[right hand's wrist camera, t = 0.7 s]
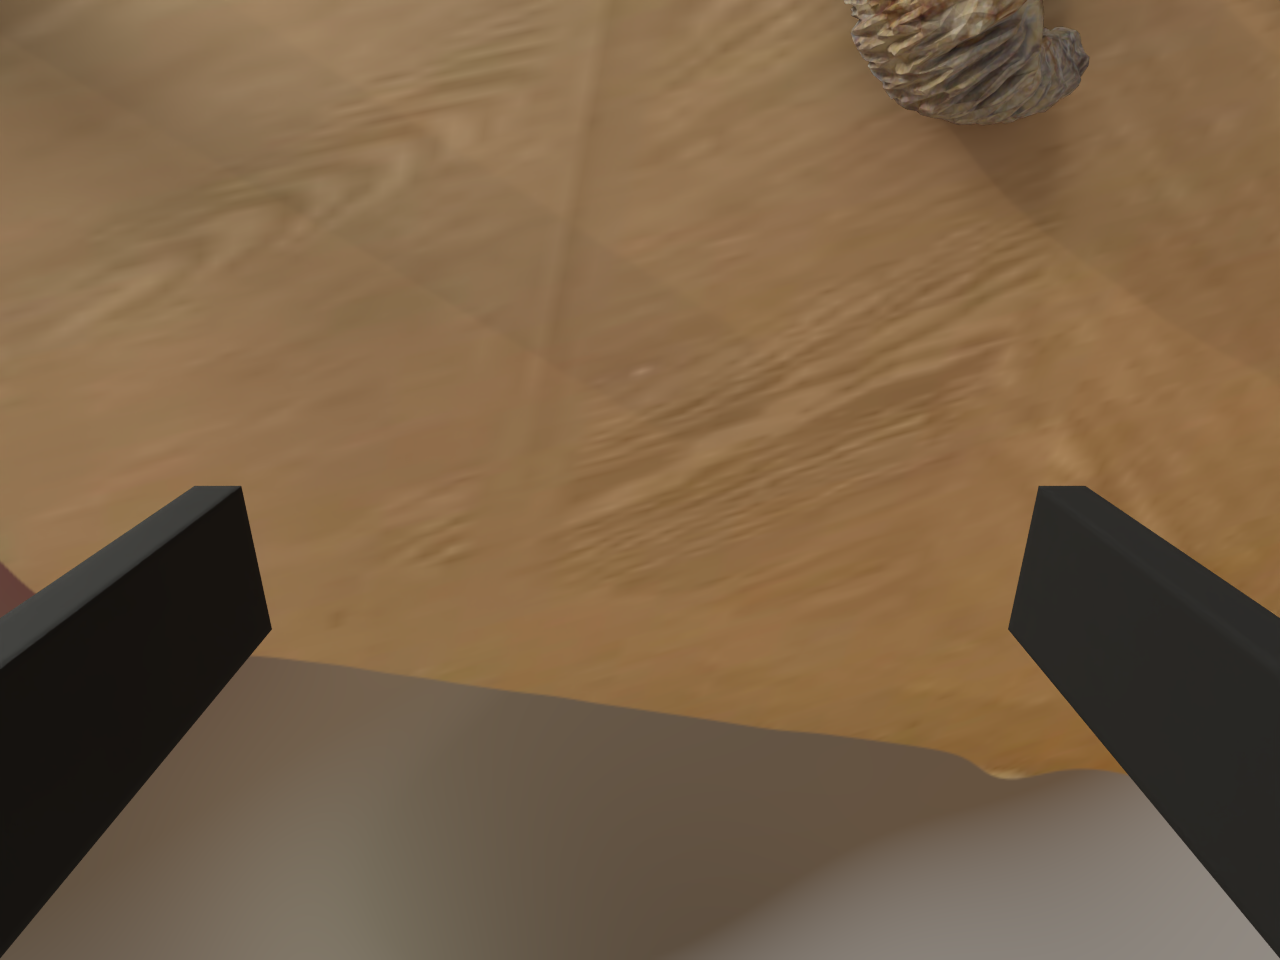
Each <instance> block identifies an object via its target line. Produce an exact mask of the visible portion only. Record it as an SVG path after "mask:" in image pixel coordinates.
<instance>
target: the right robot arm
mask: <svg viewBox="0 0 1280 960" xmlns="http://www.w3.org/2000/svg"><path fill="white" fill-rule="evenodd" d="M271 630H272V628H271V623H270V618H269V614H268V609H267V604H266V600H265V595H264V590H263V586H262V581H261V576H260V572H259V567H258V562H257V558H256V553H255V548H254V544H253V539H252V534H251V530H250V525H249V520H248V515H247V511H246V506H245V501H244V497H243V492H242V487H241V486H194V487H192V488H191V489H190V490H188V491H187V492H185V493H184V494H182V495H181V496H179V497H178V498H176V499H175V500H173V501H172V502H170V503H169V504H167V505H166V506H165V507H163V508H162V509H160V510H159V511H157V512H156V513H154V514H153V515H151V516H150V517H148V518H147V519H145V520H144V521H142V522H141V523H140V524H138V525H137V526H135V527H134V528H132V529H131V530H129V531H128V532H126V533H125V534H123V535H122V536H120V537H119V538H117V539H116V540H114V541H113V542H112V543H110V544H109V545H107V546H106V547H104V548H103V549H101V550H100V551H98V552H97V553H95V554H94V555H92V556H91V557H89V558H88V559H87V560H85V561H84V562H82V563H81V564H79V565H78V566H76V567H75V568H73V569H72V570H70V571H69V572H67V573H66V574H64V575H63V576H61V577H60V578H59V579H57V580H56V581H54V582H53V583H51V584H50V585H48V586H47V587H45V588H44V589H42V590H41V591H39V592H38V593H36V594H35V595H34V596H32V597H31V598H29V599H28V600H26V601H25V602H23V603H22V604H20V605H19V606H17V607H16V608H14V609H13V610H11V611H10V612H9V613H7V614H6V615H4V616H3V617H1V618H0V958H1V957H2V955H3V954H4V953H5V952H6V951H7V949H8V948H9V947H10V946H11V944H12V943H13V942H14V941H15V940H16V938H17V937H18V936H19V935H20V934H21V932H22V931H23V930H24V929H25V928H26V926H27V925H28V924H29V923H30V921H31V920H32V919H33V918H34V917H35V915H36V914H37V913H38V912H39V911H40V909H41V908H42V907H43V906H44V905H45V903H46V902H47V901H48V900H49V898H50V897H51V896H52V895H53V894H54V892H55V891H56V890H57V889H58V888H59V886H60V885H61V884H62V883H63V881H64V880H65V879H66V878H67V877H68V875H69V874H70V873H71V872H72V871H73V869H74V868H75V867H76V866H77V865H78V863H79V862H80V861H81V860H82V858H83V857H84V856H85V855H86V854H87V852H88V851H89V850H90V849H91V848H92V846H93V845H94V844H95V843H96V842H97V840H98V839H99V838H100V837H101V836H102V834H103V833H104V832H105V831H106V829H107V828H108V827H109V826H110V825H111V823H112V822H113V821H114V820H115V819H116V817H117V816H118V815H119V814H120V812H121V811H122V810H123V809H124V808H125V806H126V805H127V804H128V803H129V802H130V800H131V799H132V798H133V797H134V796H135V794H136V793H137V792H138V791H139V790H140V788H141V787H142V786H143V785H144V783H145V782H146V781H147V780H148V779H149V777H150V776H151V775H152V774H153V773H154V771H155V770H156V769H157V768H158V766H159V765H160V764H161V763H162V762H163V760H164V759H165V758H166V757H167V756H168V754H169V753H170V752H171V751H172V750H173V748H174V747H175V746H176V745H177V743H178V742H179V741H180V740H181V739H182V737H183V736H184V735H185V734H186V733H187V731H188V730H189V729H190V728H191V727H192V725H193V724H194V723H195V722H196V720H197V719H198V718H199V717H200V716H201V714H202V713H203V712H204V711H205V710H206V708H207V707H208V706H209V705H210V703H211V702H212V701H213V700H214V699H215V697H216V696H217V695H218V694H219V693H220V691H221V690H222V689H223V688H224V687H225V685H226V684H227V683H228V682H229V681H230V679H231V678H232V677H233V676H234V674H235V673H236V672H237V671H238V670H239V668H240V667H241V666H242V665H243V664H244V662H245V661H246V660H247V659H248V657H249V656H250V655H251V654H252V653H253V651H254V650H255V649H256V648H257V647H258V645H259V644H260V643H261V642H262V641H263V639H264V638H265V637H266V636H267V635H268V633H269V632H270V631H271ZM1008 630H1009V631H1010V632H1011V633H1012V635H1013V636H1014V637H1015V638H1016V639H1017V641H1018V642H1019V643H1020V644H1021V645H1022V647H1023V648H1024V649H1025V650H1026V651H1027V653H1028V654H1029V655H1030V656H1031V658H1032V659H1033V660H1034V661H1035V662H1036V664H1037V665H1038V666H1039V667H1040V668H1041V670H1042V671H1043V672H1044V673H1045V674H1046V676H1047V677H1048V678H1049V679H1050V681H1051V682H1052V683H1053V684H1054V685H1055V687H1056V688H1057V689H1058V690H1059V691H1060V693H1061V694H1062V695H1063V696H1064V697H1065V699H1066V700H1067V701H1068V702H1069V704H1070V705H1071V706H1072V707H1073V708H1074V710H1075V711H1076V712H1077V713H1078V714H1079V716H1080V717H1081V718H1082V719H1083V720H1084V722H1085V723H1086V724H1087V725H1088V727H1089V728H1090V729H1091V730H1092V731H1093V733H1094V734H1095V735H1096V736H1097V737H1098V739H1099V740H1100V741H1101V742H1102V743H1103V745H1104V746H1105V747H1106V748H1107V750H1108V751H1109V752H1110V753H1111V754H1112V756H1113V757H1114V758H1115V759H1116V760H1117V762H1118V763H1119V764H1120V765H1121V766H1122V768H1123V769H1124V770H1125V771H1126V773H1127V774H1128V775H1129V776H1130V777H1131V779H1132V780H1133V781H1134V782H1135V783H1136V785H1137V786H1138V787H1139V788H1140V790H1141V791H1142V792H1143V793H1144V794H1145V796H1146V797H1147V798H1148V799H1149V800H1150V802H1151V803H1152V804H1153V805H1154V806H1155V808H1156V809H1157V810H1158V811H1159V813H1160V814H1161V815H1162V816H1163V817H1164V819H1165V820H1166V821H1167V822H1168V823H1169V825H1170V826H1171V827H1172V828H1173V829H1174V831H1175V832H1176V833H1177V834H1178V836H1179V837H1180V838H1181V839H1182V840H1183V842H1184V843H1185V844H1186V845H1187V846H1188V848H1189V849H1190V850H1191V851H1192V852H1193V854H1194V855H1195V856H1196V857H1197V859H1198V860H1199V861H1200V862H1201V863H1202V865H1203V866H1204V867H1205V868H1206V869H1207V871H1208V872H1209V873H1210V874H1211V875H1212V877H1213V878H1214V879H1215V880H1216V882H1217V883H1218V884H1219V885H1220V886H1221V888H1222V889H1223V890H1224V891H1225V892H1226V894H1227V895H1228V896H1229V897H1230V898H1231V900H1232V901H1233V902H1234V903H1235V904H1236V906H1237V907H1238V908H1239V909H1240V911H1241V912H1242V913H1243V914H1244V915H1245V917H1246V918H1247V919H1248V920H1249V921H1250V923H1251V924H1252V925H1253V926H1254V927H1255V929H1256V930H1257V931H1258V932H1259V934H1260V935H1261V936H1262V937H1263V938H1264V940H1265V941H1266V942H1267V943H1268V944H1269V946H1270V947H1271V948H1272V949H1273V951H1274V952H1275V953H1276V954H1277V955H1278V957H1279V958H1280V618H1279V617H1277V616H1276V615H1274V614H1273V613H1271V612H1270V611H1269V610H1267V609H1266V608H1264V607H1263V606H1261V605H1260V604H1258V603H1257V602H1255V601H1254V600H1252V599H1251V598H1249V597H1248V596H1246V595H1245V594H1244V593H1242V592H1241V591H1239V590H1238V589H1236V588H1235V587H1233V586H1232V585H1230V584H1229V583H1227V582H1226V581H1224V580H1223V579H1221V578H1220V577H1219V576H1217V575H1216V574H1214V573H1213V572H1211V571H1210V570H1208V569H1207V568H1205V567H1204V566H1202V565H1201V564H1199V563H1198V562H1196V561H1195V560H1193V559H1192V558H1191V557H1189V556H1188V555H1186V554H1185V553H1183V552H1182V551H1180V550H1179V549H1177V548H1176V547H1174V546H1173V545H1171V544H1170V543H1168V542H1167V541H1166V540H1164V539H1163V538H1161V537H1160V536H1158V535H1157V534H1155V533H1154V532H1152V531H1151V530H1149V529H1148V528H1146V527H1145V526H1143V525H1142V524H1140V523H1139V522H1138V521H1136V520H1135V519H1133V518H1132V517H1130V516H1129V515H1127V514H1126V513H1124V512H1123V511H1121V510H1120V509H1118V508H1117V507H1115V506H1114V505H1113V504H1111V503H1110V502H1108V501H1107V500H1105V499H1104V498H1102V497H1101V496H1099V495H1098V494H1096V493H1095V492H1093V491H1092V490H1090V489H1089V488H1088V487H1086V486H1039V487H1038V492H1037V497H1036V501H1035V506H1034V511H1033V515H1032V520H1031V525H1030V530H1029V534H1028V539H1027V544H1026V548H1025V553H1024V558H1023V562H1022V567H1021V572H1020V576H1019V581H1018V586H1017V590H1016V595H1015V600H1014V604H1013V609H1012V614H1011V618H1010V623H1009V628H1008Z"/></svg>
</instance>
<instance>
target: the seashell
mask: <svg viewBox="0 0 1280 960" xmlns="http://www.w3.org/2000/svg"><path fill="white" fill-rule="evenodd" d="M844 2H845V4H851V5H853V7H852V8H851V11H852V16H853V17H856V18H858V19H860V20H859V21H858V22H857V23H856V25H855V26H854V27H853V29H852V31H851V36H852V39H853V42H854V43H855V45H856V47H857V49H858V51H859V52H860V54H861V56H862V58H863V59H864V60H865V61H870V62H869V65H868V67H869V68H870V70H871V72H872V74H873V75H874V76H875V77H877V78H878V79H879V80H880V81H882V82H883V88H884V89H885V91H886V92H887V94H888V95H889V97H890V98H891V99H895V101H896V102H897V103H898V104H899V105H901V106H902V107H904V108H905V109H909V110H915V111H917V112H918V113H919V114H920V115H924V116H928V117H932V118H938V119H944V120H946V121H949V122H951V123H955V124H958V125H961V124H966V125H972V124H980V125H990V124H996V123H1004V124H1005V123H1010V122H1013V121H1015V120H1017V119H1020V118H1023V117H1026V116H1029V115H1033V114H1036V113H1040V112H1045V111H1047V110H1048V109H1049V108H1050V107H1052V106H1053V105H1054V104H1055V103H1057V102H1058V100H1059V99H1062V98H1064V97H1066V96H1068V95H1070V94H1071V93H1072V92H1073V91H1074V90H1075V89H1076V88H1077V87H1078V86H1079V83H1080V81H1081V78H1080V77H1081V75H1082V74H1083V73H1084V71H1085V70H1086V68H1087V67H1088V64H1089V56H1088V55H1087V54H1086V53H1085V52H1084V50H1083V47H1082V44H1081V37H1080V34H1079V33H1078V32H1077V31H1076V30H1073V29H1069V28H1066V27H1056V28H1054V29H1052V30H1048V29H1046V28H1044V29H1043V21H1044V9H1043V3H1042V0H844Z"/></svg>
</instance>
